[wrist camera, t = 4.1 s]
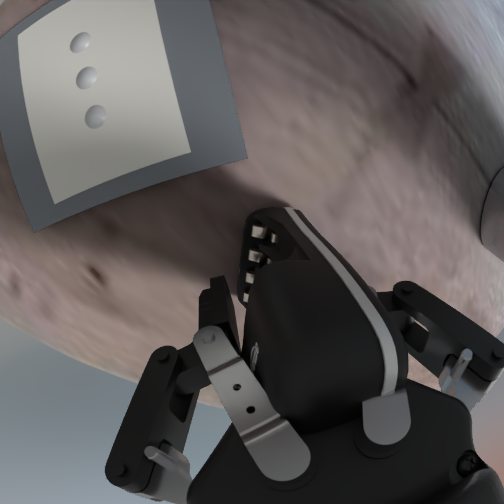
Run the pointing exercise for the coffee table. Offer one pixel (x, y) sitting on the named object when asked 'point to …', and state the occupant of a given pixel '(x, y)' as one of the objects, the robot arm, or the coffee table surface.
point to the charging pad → (112, 101)
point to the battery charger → (312, 324)
